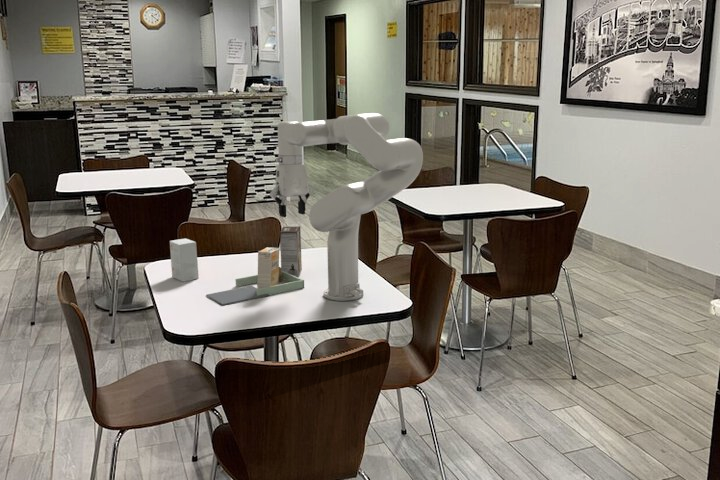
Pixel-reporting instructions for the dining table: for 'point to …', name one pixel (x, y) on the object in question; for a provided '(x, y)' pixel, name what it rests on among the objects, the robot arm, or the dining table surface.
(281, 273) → the walnut block
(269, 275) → the supplement box
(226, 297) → the mat
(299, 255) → the coffee box
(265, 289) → the tray
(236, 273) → the dining table surface
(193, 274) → the small box
